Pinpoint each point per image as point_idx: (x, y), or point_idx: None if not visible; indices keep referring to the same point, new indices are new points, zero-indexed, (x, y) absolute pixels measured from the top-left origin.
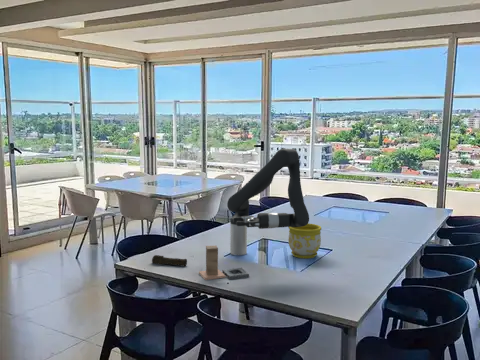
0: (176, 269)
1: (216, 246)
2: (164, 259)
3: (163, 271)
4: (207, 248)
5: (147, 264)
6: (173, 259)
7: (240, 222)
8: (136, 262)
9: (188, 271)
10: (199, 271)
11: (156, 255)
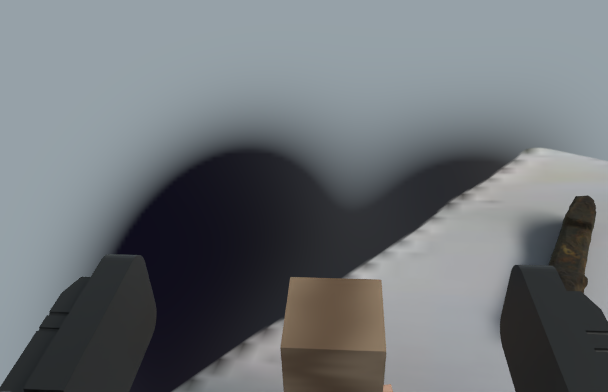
0: (475, 298)
1: (345, 346)
2: (560, 235)
3: (442, 251)
4: (295, 278)
5: (551, 209)
6: (558, 264)
7: (67, 316)
8: (575, 182)
9: (436, 345)
10: (389, 386)
11: (587, 201)
